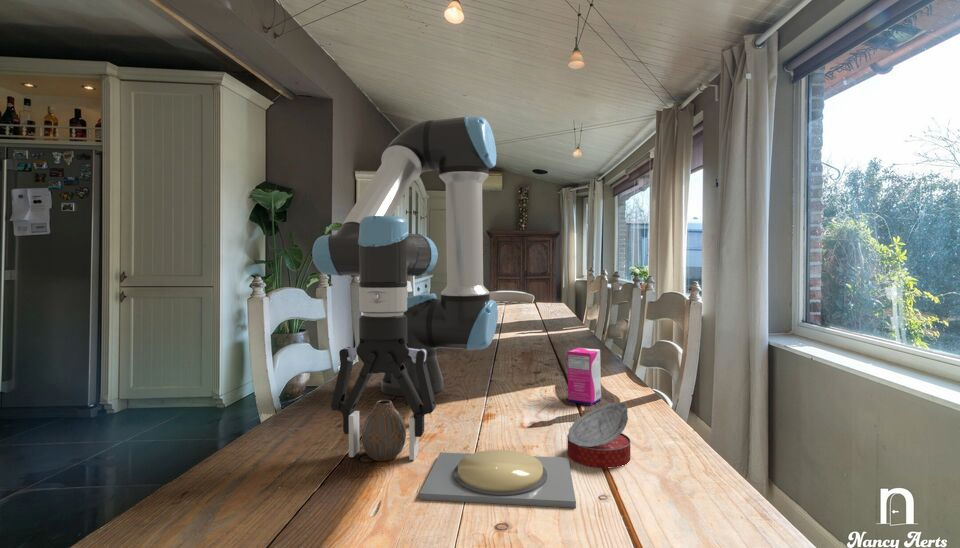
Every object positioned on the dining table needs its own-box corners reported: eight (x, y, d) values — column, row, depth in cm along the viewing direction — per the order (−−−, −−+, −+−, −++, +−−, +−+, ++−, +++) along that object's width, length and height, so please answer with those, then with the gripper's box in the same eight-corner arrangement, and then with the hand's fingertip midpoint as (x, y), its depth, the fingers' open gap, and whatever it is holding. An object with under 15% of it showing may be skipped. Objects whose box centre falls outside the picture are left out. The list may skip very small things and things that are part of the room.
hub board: (440, 457, 77) (440, 444, 77) (568, 462, 75) (568, 450, 75) (419, 499, 63) (419, 484, 63) (575, 507, 61) (575, 491, 61)
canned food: (625, 497, 74) (630, 451, 69) (560, 479, 78) (560, 435, 73) (633, 441, 83) (638, 397, 78) (574, 427, 87) (575, 385, 82)
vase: (396, 467, 74) (396, 409, 74) (354, 463, 75) (353, 406, 75) (412, 450, 81) (411, 397, 80) (372, 446, 82) (372, 394, 82)
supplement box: (577, 395, 114) (577, 346, 114) (601, 400, 110) (602, 349, 110) (566, 401, 109) (566, 350, 109) (591, 406, 106) (591, 353, 105)
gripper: (307, 315, 75) (307, 461, 75) (447, 317, 72) (447, 467, 73) (327, 311, 82) (328, 443, 83) (455, 312, 80) (455, 449, 80)
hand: (383, 455), depth 78 cm, fingers open, 9 cm apart
